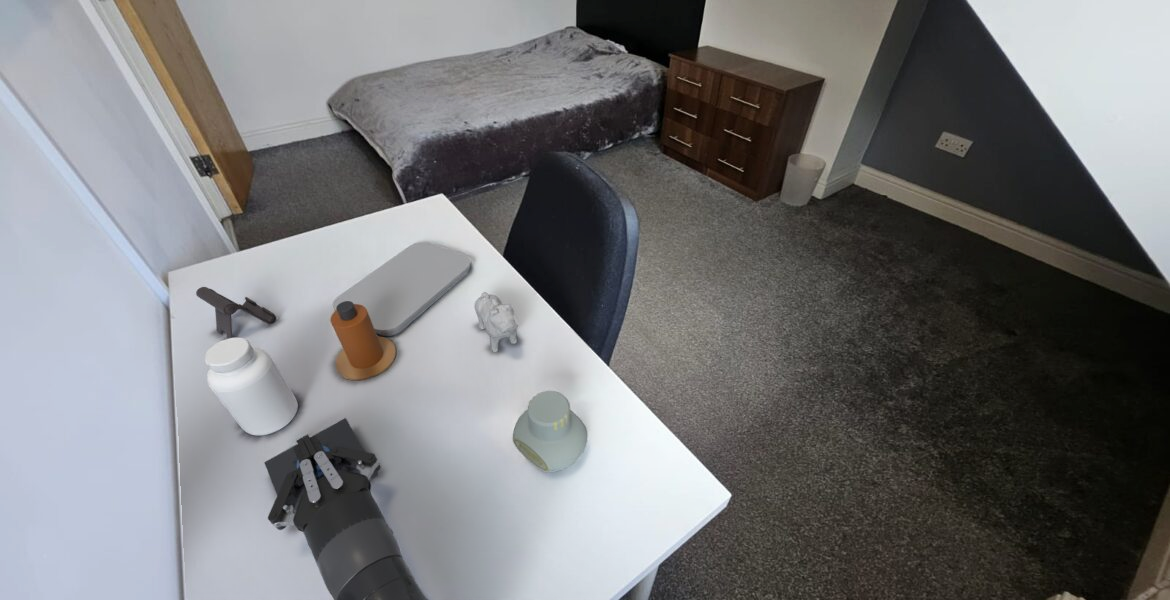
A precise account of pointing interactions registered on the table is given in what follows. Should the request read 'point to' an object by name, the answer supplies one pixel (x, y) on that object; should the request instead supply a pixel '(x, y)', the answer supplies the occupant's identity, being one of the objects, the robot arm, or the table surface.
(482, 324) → the grey animal figurine
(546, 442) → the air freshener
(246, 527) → the table surface
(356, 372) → the coaster
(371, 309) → the tablet
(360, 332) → the bottle
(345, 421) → the dark grey button base
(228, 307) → the tablet stand
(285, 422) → the pill bottle
